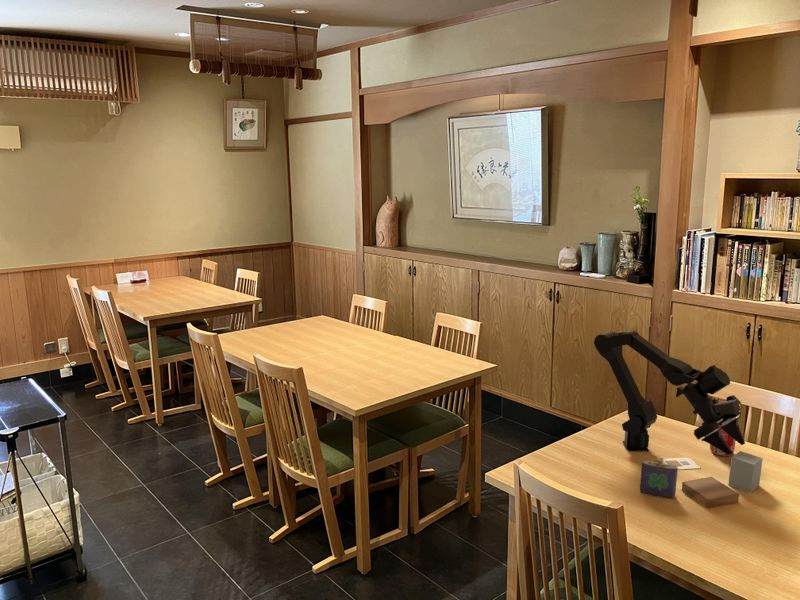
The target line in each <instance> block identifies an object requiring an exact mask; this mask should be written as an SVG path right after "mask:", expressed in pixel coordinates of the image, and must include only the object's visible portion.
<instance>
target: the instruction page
mask: <svg viewBox="0 0 800 600" xmlns="http://www.w3.org/2000/svg"><path fill="white" fill-rule="evenodd" d="M658 459H659V458H657V461H658ZM662 459H663V462H662V463H663V464H667V465H675V466H677V467H678V470H699V469H701V467H700V466H699V465H698V464H697V463H696V462H694V461H693V460H692V459H691V458H690V457H675V458H674V457H673V458H671V457H668V458H662Z"/></svg>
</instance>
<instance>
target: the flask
mask: <svg viewBox="0 0 800 600" xmlns="http://www.w3.org/2000/svg"><path fill="white" fill-rule="evenodd" d="M657 459H658V460H657V461H651V460H643V461H641V469H640V482H639V492H640V494H643V495H647V496H651V497H658V498H664V499H674V498H675V497H676V494H677V493H676V491H677V481H678V479H677V478H678V467H677V466H675V465H667V464H663V463H662V462H663V459H664V458H661V457H660V458H657Z"/></svg>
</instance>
